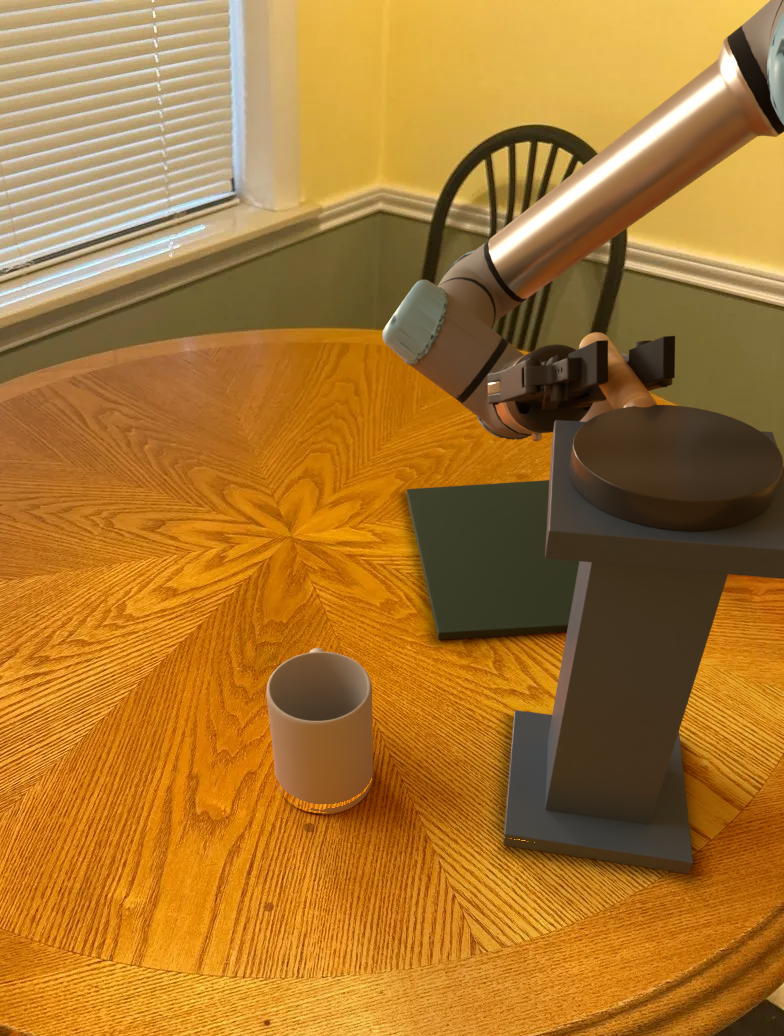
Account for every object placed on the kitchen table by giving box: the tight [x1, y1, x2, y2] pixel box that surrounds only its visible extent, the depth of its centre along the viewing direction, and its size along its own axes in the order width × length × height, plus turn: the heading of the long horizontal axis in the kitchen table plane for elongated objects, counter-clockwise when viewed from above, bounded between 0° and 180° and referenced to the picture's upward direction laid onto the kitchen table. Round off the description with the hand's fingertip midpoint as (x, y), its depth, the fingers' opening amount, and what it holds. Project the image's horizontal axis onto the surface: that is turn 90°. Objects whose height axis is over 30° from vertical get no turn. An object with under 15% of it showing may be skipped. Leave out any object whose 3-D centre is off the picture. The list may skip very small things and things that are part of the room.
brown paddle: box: [569, 331, 784, 531], centre depth 59 cm, size 24×12×2 cm, turn 2°
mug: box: [266, 647, 375, 815], centre depth 75 cm, size 12×8×11 cm
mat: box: [405, 479, 579, 641], centre depth 101 cm, size 28×18×1 cm, turn 2°
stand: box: [502, 420, 784, 875], centre depth 65 cm, size 14×14×30 cm
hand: (635, 359), depth 59 cm, fingers open, 4 cm apart
